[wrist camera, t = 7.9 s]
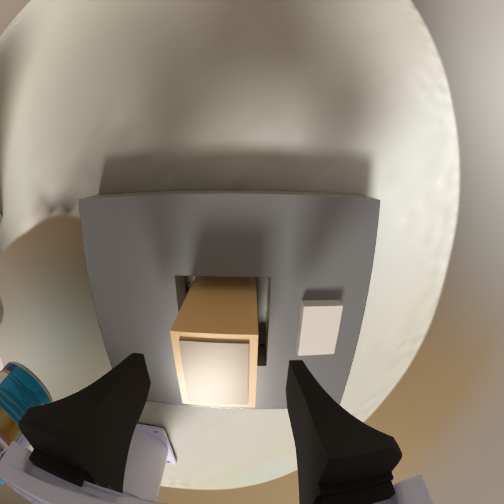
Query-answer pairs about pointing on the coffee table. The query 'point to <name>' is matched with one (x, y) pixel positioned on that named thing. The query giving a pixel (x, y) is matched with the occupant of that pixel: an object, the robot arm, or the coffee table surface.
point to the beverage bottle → (17, 402)
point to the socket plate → (233, 275)
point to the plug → (217, 342)
